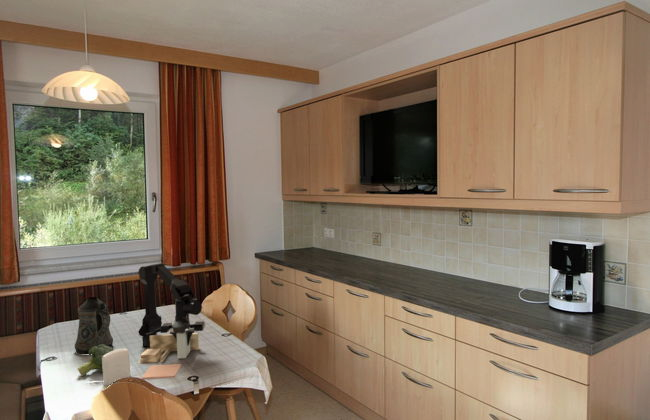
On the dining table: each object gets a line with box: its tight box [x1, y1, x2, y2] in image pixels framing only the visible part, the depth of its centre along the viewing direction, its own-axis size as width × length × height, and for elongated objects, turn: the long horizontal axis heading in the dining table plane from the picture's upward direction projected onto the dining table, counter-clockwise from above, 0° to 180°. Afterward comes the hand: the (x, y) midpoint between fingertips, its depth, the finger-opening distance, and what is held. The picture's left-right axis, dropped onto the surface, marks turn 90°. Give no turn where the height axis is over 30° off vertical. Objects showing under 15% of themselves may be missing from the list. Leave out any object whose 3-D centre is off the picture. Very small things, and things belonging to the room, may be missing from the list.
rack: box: [149, 332, 200, 363], centre depth 198 cm, size 22×14×8 cm, turn 94°
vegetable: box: [77, 344, 115, 377], centre depth 183 cm, size 12×13×15 cm
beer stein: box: [73, 296, 114, 355], centre depth 210 cm, size 16×19×25 cm
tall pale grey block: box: [176, 329, 191, 359], centre depth 198 cm, size 4×9×11 cm, turn 4°
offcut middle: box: [139, 351, 163, 363], centre depth 196 cm, size 7×8×2 cm
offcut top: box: [140, 348, 161, 358], centre depth 195 cm, size 6×7×2 cm
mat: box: [141, 363, 183, 380], centre depth 182 cm, size 13×12×1 cm
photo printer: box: [102, 348, 131, 386], centre depth 175 cm, size 10×4×12 cm, turn 140°
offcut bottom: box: [138, 353, 164, 364], centre depth 195 cm, size 8×9×2 cm
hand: (183, 345), depth 198 cm, fingers closed on tall pale grey block, 3 cm apart
